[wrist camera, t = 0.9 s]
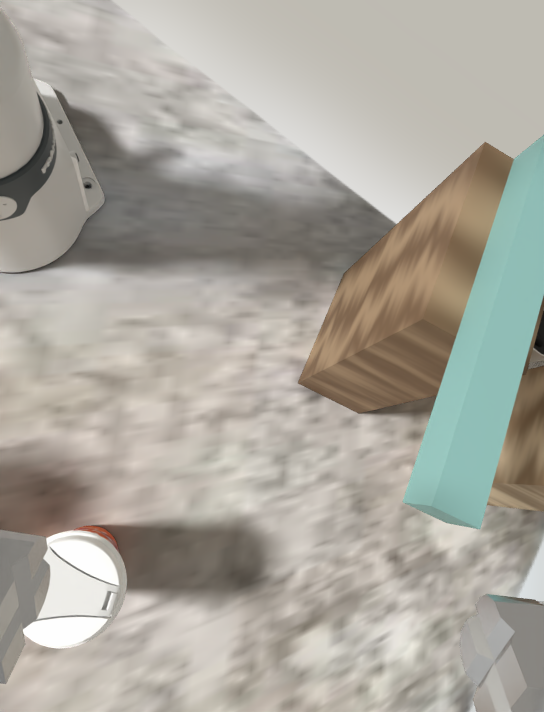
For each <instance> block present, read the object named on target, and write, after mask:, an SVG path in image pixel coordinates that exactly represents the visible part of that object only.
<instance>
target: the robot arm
mask: <svg viewBox="0 0 544 712" xmlns="http://www.w3.org/2000/svg"><path fill="white" fill-rule="evenodd" d="M86 185H90V186H92V187H91V188H90V189H86V188H85V186H86ZM104 201H105V197H104V194H103V191H102V189H101V186H100V184H99V182H98V180H97V178H96V176H95V174H94V172H93V170H92V168H91V166H90V164H89V162H88V160H87V157H86V155H85V153H84V151H83V149H82V147H81V145H80V143H79V141H78V139H77V137H76V135H75V133H74V131H73V128H72V126H71V124H70V122H69V120H68V118H67V116H66V114H65V112H64V110H63V108H62V106H61V104H60V102H59V99H58V97H57V95H56V93H55V91H54V90H53V88H52V87H51V86H50V85H49V84H47V83H45V82H43V81H40V80H38V79H35V78H33V77H32V74H31V70H30V67H29V63H28V59H27V56H26V52H25V49H24V45H23V42H22V39H21V37H20V35H19V33H18V31H17V29H16V27H15V26H14V24H13V23H12V21H11V20H10V18H9V17H8V16H7V14H6V13H5V12H4V10H3V9H2V8H1V7H0V272H23V271H29V270H33V269H36V268H39V267H42V266H45V265H47V264H49V263H51V262H53V261H54V260H56V259H58V258H59V257H60V256H62V255H63V254H64V253H65V252H66V251H67V250H68V249H69V248H70V247H71V246H72V245H73V243H74V242H75V240H76V239H77V237H78V235H79V233H80V231H81V229H82V227H83V225H84V223H85V221H86V220H87V219H88V218H89V217H90V216H91V215H93V214H94V213H95V212H96V211H97V210H98V209H99V208H100V207H101V206H102V205H103V204H104ZM47 550H48V546H47V540H46V537H45V536H38V535H32V534H25V533H19V532H12V531H6V530H0V683H2V684H6V683H7V681H8V679H9V677H10V675H11V673H12V671H13V668H14V666H15V664H16V662H17V660H18V658H19V656H20V654H21V652H22V650H23V647H24V645H25V640H24V633H23V629H24V628H26V627H27V626H28V625H30V624H31V623H32V622H34V621H35V620H36V619H37V618H38V616H39V613H40V611H41V609H42V607H43V604H44V602H45V599H46V595H47V592H48V588H49V583H50V565H49V564H48V563H47V562H46V561H45V560H44V559H43V558H44V556H45V554H46V552H47ZM475 607H476V610H477V613H478V614H476V615H474V616H472V617H470V618H468V619H467V620H466V622H465V624H464V626H463V628H462V630H461V637H460V652H461V659H462V663H463V666H464V670H465V673H466V674H467V675H468V677H469V678H470V679H471V680H472V681H473V682H474V684H475V685H476V686H477V689H476V692H475V695H474V698H473V701H474V705H475V708H476V711H477V712H544V602H541V601H536V600H532V599H523V598H515V597H507V596H498V595H489V594H485V595H483V596H481V597H480V598H479V599H478V601H477V603H476V604H475Z"/></svg>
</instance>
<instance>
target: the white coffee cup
mask: <svg viewBox="0 0 544 712" xmlns="http://www.w3.org/2000/svg"><path fill="white" fill-rule="evenodd" d="M543 360H544V310H543V314H542V317H541V321H540V325H539V329H538V332H537V336H536V340H535V343H534V347H533V351H532V355H531V358H530V362H529V363H533V362H538V361H543Z"/></svg>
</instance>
